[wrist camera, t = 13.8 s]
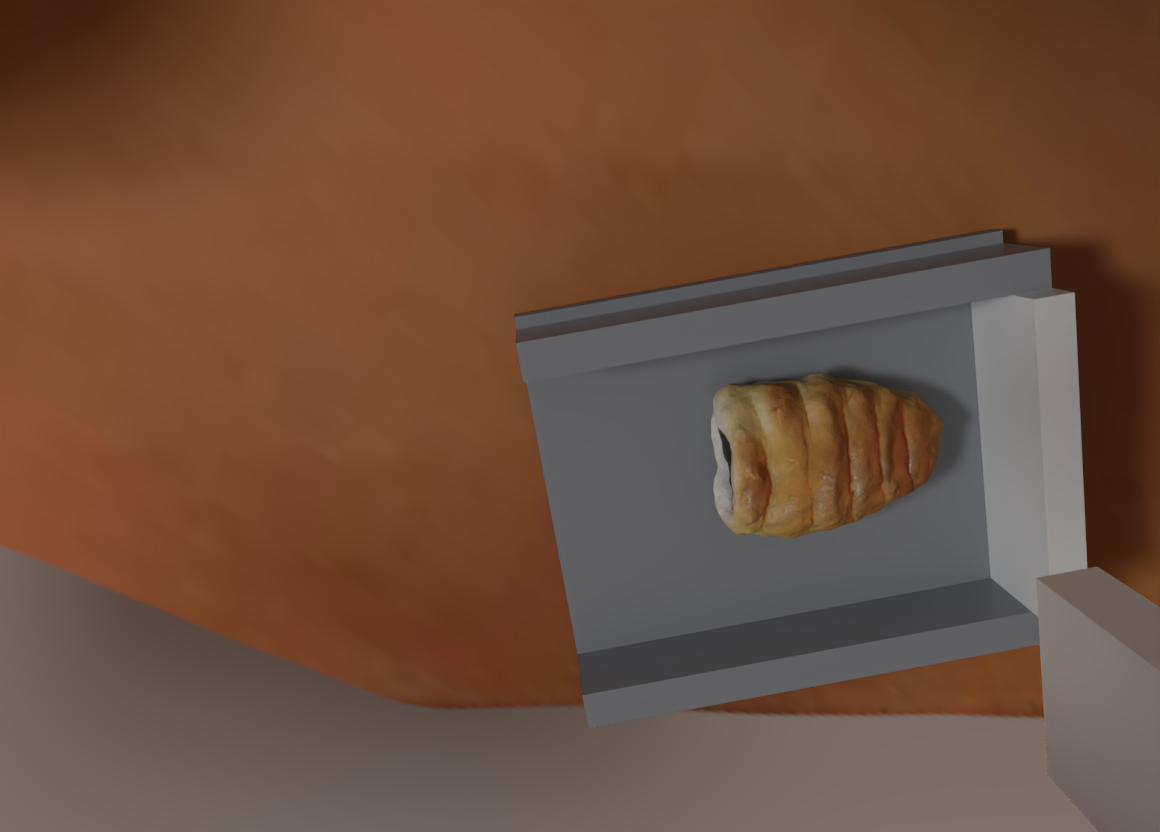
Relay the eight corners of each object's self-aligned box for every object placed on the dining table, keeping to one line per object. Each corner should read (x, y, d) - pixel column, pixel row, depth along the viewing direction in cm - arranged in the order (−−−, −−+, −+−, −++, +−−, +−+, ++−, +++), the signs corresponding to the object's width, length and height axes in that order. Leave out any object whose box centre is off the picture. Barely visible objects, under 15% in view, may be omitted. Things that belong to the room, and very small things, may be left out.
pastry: (923, 350, 39) (964, 368, 36) (929, 503, 41) (969, 536, 37) (699, 381, 39) (717, 402, 35) (714, 534, 41) (733, 570, 37)
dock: (583, 683, 43) (593, 760, 37) (514, 314, 39) (512, 336, 33) (1015, 603, 43) (1091, 667, 38) (990, 229, 39) (1072, 236, 33)
